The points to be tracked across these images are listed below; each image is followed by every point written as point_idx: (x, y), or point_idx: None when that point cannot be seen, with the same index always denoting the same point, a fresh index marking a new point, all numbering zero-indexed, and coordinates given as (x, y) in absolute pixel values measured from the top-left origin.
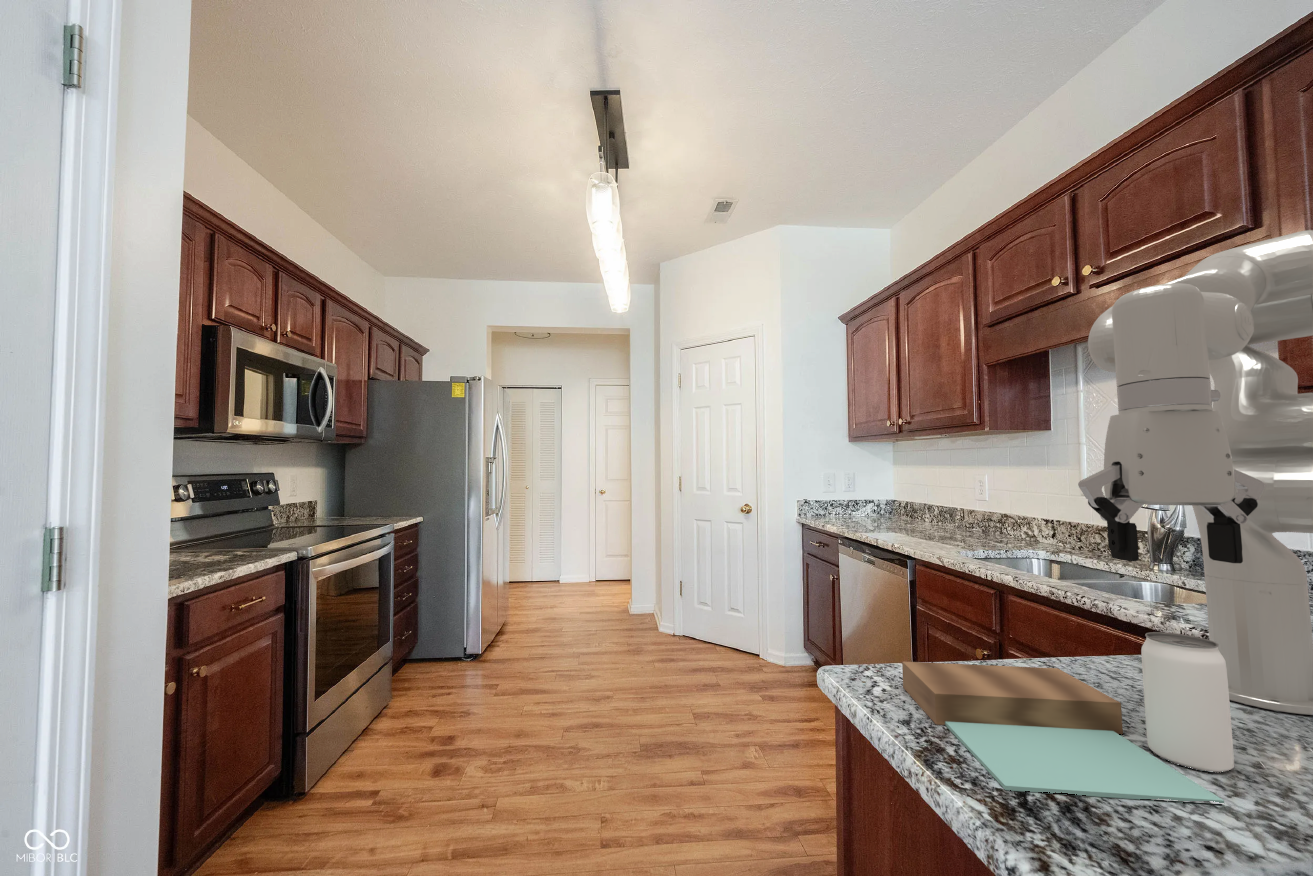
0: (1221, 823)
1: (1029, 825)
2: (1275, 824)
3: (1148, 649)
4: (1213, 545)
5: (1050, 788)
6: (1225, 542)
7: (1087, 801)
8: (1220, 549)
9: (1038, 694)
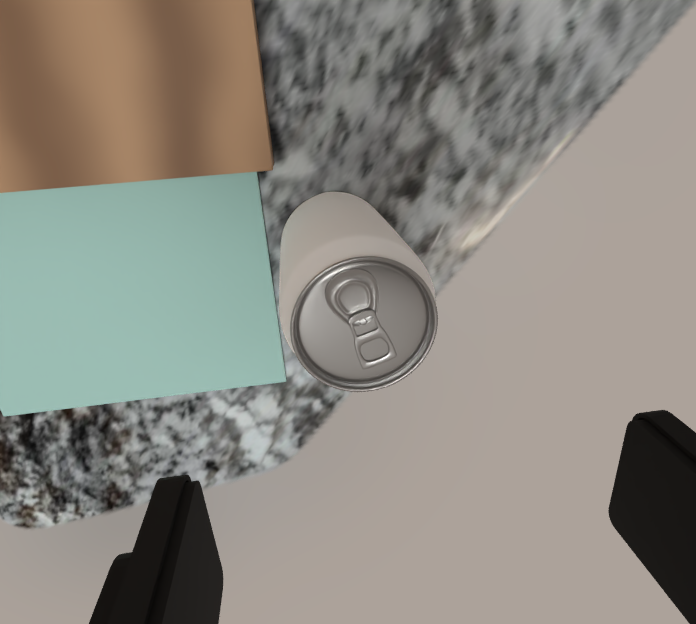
0: (254, 417)
1: (25, 476)
2: (316, 404)
3: (283, 319)
4: (676, 491)
5: (66, 407)
6: (678, 566)
7: (113, 410)
8: (656, 507)
9: (96, 152)
